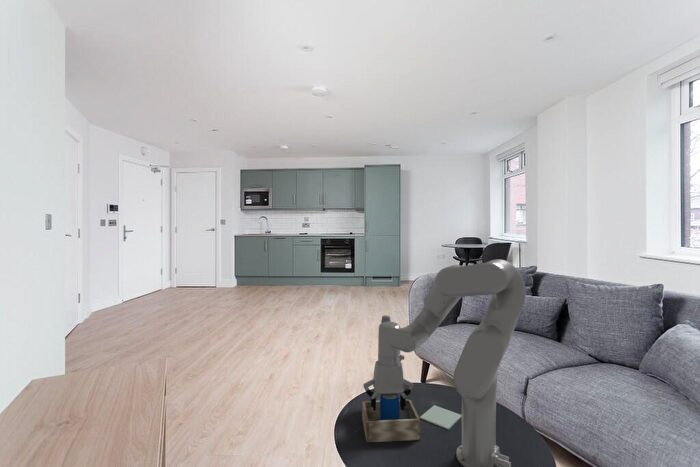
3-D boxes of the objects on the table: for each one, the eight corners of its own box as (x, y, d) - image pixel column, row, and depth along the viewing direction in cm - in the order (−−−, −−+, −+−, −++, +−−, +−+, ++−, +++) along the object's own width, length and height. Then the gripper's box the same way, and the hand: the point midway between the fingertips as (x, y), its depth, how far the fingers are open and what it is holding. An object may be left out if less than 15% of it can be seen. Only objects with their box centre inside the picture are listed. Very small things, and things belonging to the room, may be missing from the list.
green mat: (461, 416, 127) (461, 415, 127) (448, 429, 118) (448, 428, 118) (434, 406, 134) (434, 405, 134) (419, 418, 126) (419, 417, 126)
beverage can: (398, 424, 122) (398, 390, 122) (399, 435, 116) (399, 399, 115) (380, 423, 123) (380, 389, 123) (380, 434, 116) (380, 398, 116)
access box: (410, 417, 127) (410, 399, 126) (420, 439, 113) (420, 419, 113) (362, 419, 125) (362, 401, 125) (366, 442, 112) (366, 422, 112)
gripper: (411, 354, 123) (410, 402, 124) (362, 355, 122) (361, 403, 123) (416, 363, 116) (415, 413, 116) (365, 363, 115) (364, 415, 115)
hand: (388, 408), depth 119 cm, fingers open, 9 cm apart
